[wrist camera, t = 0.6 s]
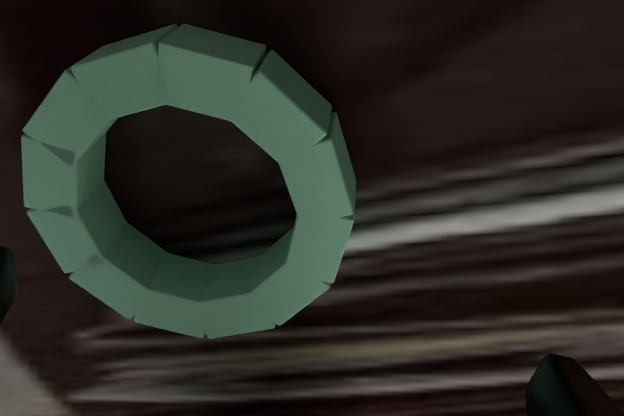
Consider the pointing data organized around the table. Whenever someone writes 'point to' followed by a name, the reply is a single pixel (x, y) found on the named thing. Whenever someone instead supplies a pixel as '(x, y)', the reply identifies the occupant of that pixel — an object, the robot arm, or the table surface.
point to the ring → (213, 102)
